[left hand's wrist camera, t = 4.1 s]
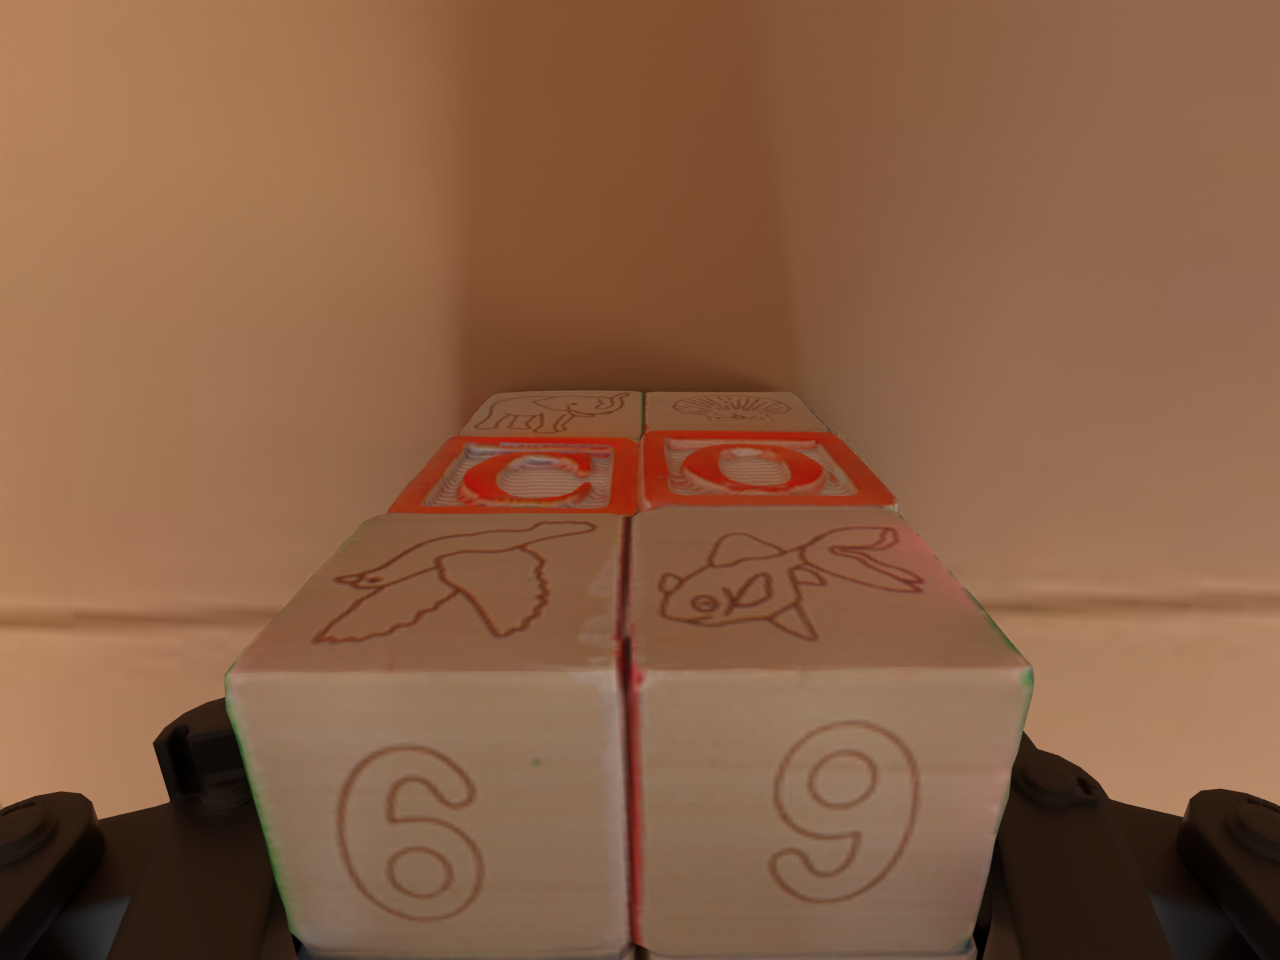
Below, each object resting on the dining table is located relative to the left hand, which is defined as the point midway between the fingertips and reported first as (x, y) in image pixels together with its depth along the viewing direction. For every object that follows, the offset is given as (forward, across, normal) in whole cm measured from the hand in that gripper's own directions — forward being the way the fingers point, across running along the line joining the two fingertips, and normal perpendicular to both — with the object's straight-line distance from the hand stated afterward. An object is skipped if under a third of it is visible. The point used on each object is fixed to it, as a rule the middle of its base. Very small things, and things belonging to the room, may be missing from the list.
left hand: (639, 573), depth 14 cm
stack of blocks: (+1, 0, -7) cm, 7 cm away
